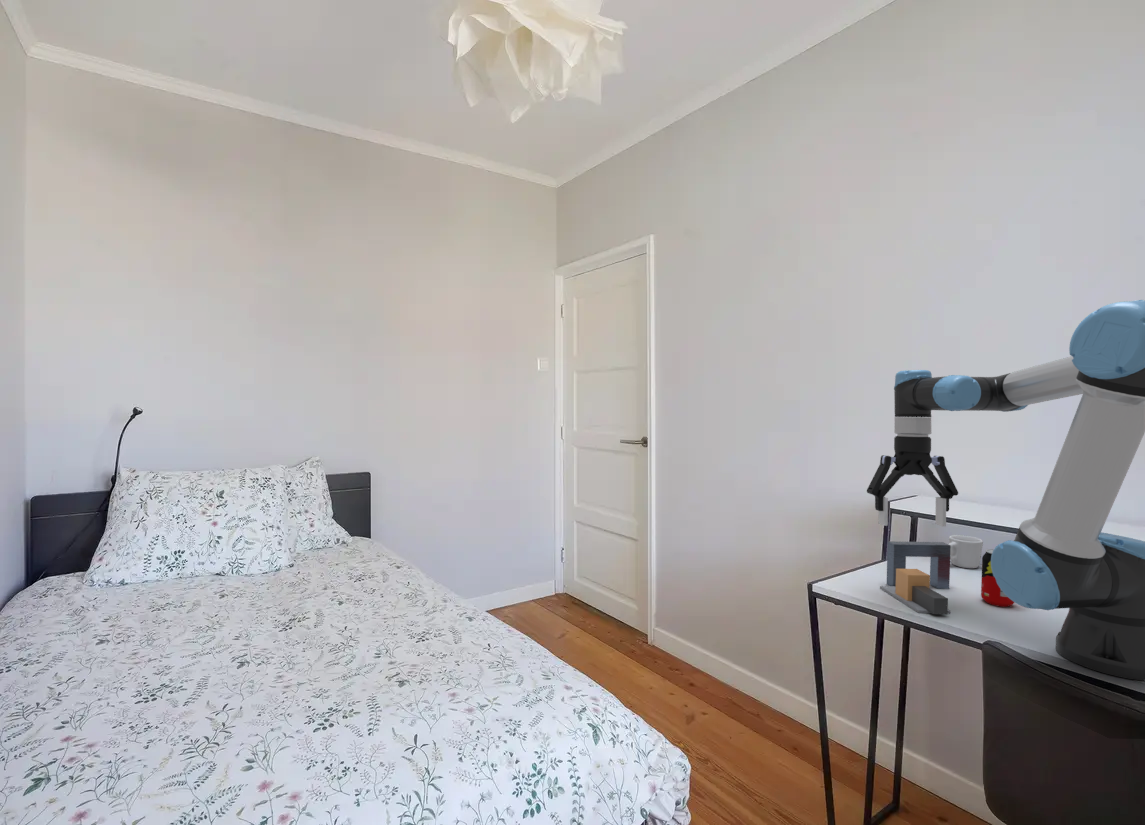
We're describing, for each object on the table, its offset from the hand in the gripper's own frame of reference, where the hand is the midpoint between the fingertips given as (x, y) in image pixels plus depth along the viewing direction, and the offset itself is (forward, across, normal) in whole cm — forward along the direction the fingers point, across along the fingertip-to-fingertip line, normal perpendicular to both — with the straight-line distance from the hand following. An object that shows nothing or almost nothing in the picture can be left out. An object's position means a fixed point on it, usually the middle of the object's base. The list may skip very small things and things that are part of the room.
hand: (911, 525), depth 134 cm
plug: (+17, 0, +5) cm, 18 cm away
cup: (+17, -30, -27) cm, 44 cm away
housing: (+17, -7, -9) cm, 21 cm away
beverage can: (+18, -19, +2) cm, 26 cm away
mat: (+18, 0, +1) cm, 18 cm away
